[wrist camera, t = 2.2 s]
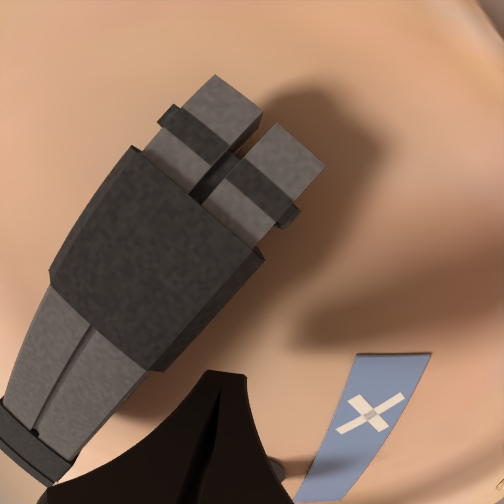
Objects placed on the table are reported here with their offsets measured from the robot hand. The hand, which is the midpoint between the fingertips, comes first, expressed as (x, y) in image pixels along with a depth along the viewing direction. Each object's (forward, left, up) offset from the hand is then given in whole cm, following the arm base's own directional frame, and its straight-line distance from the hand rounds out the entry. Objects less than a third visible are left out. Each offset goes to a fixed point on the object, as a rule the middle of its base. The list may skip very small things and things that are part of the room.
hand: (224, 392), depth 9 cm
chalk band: (-8, -7, -3) cm, 11 cm away
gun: (0, +6, -3) cm, 7 cm away
